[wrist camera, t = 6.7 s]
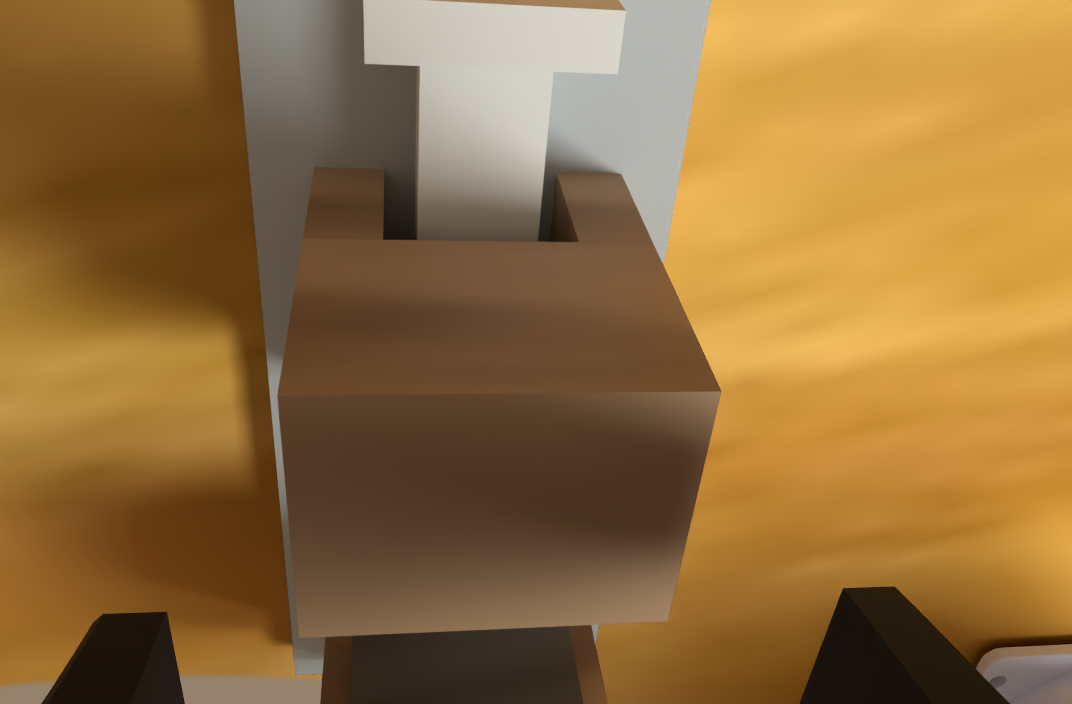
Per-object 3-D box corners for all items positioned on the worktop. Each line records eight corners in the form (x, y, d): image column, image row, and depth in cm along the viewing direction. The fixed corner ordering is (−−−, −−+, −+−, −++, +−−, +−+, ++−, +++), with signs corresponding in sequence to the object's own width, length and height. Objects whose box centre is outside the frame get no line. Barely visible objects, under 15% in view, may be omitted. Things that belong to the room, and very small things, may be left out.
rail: (587, 634, 24) (612, 758, 21) (297, 647, 23) (285, 779, 20) (702, -45, 15) (773, 18, 12) (235, -73, 14) (197, -12, 11)
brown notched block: (592, 382, 18) (664, 636, 14) (326, 384, 18) (300, 652, 13) (621, 174, 16) (720, 391, 11) (314, 167, 15) (277, 395, 10)
